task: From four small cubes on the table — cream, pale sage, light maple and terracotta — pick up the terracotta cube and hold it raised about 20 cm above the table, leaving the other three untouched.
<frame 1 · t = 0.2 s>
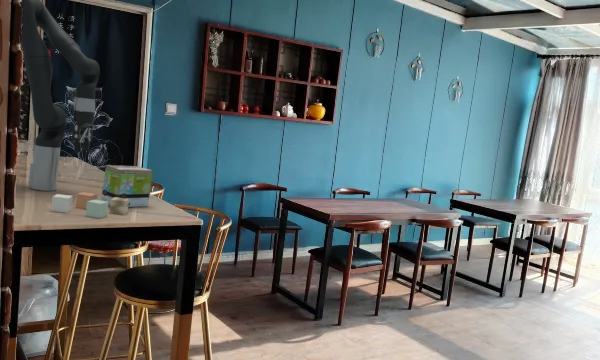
hand: (81, 151, 203), 17 cm above the table, tool pointing down, fingers open, 8 cm apart
maple cube: (118, 212, 185), on the table
sage cube: (96, 216, 175), on the table
terracotta cube: (85, 207, 185), on the table
tea box: (125, 205, 200), on the table
cream cube: (61, 210, 175), on the table
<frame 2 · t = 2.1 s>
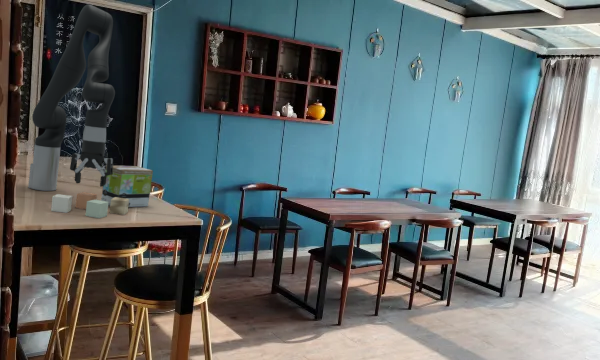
hand: (90, 184, 184), 8 cm above the table, tool pointing down, fingers open, 8 cm apart
nothing on the table moved.
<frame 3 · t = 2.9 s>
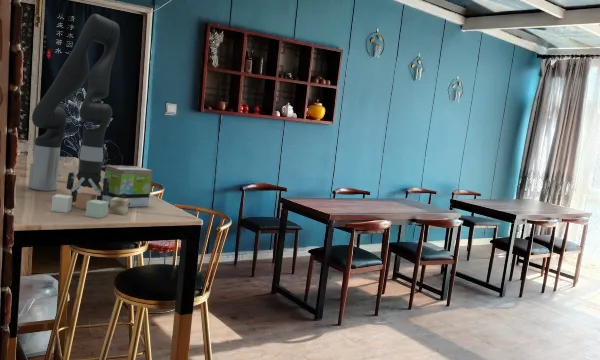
hand: (86, 203, 185), 1 cm above the table, tool pointing down, fingers open, 8 cm apart
nothing on the table moved.
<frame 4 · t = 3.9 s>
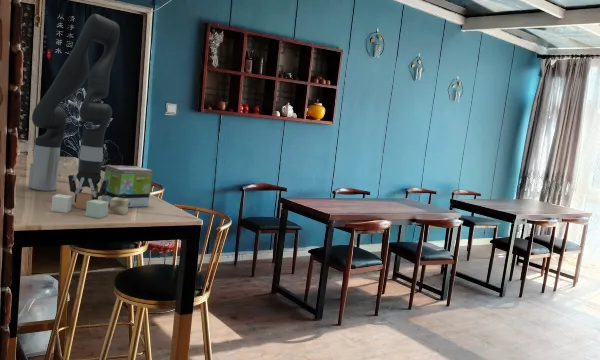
hand: (85, 205, 185), 1 cm above the table, tool pointing down, fingers closed on terracotta cube, 5 cm apart
terracotta cube: (85, 207, 185), on the table, touching gripper
everything else where it was.
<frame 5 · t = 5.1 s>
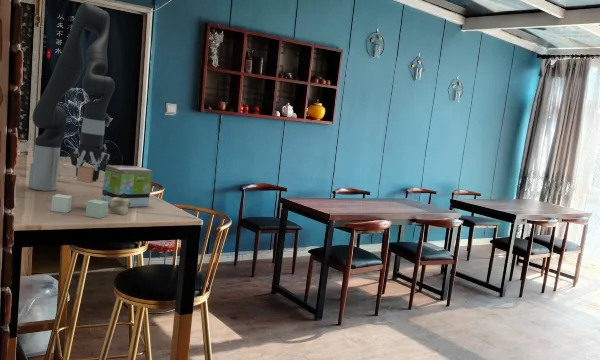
hand: (86, 179, 183), 10 cm above the table, tool pointing down, fingers closed on terracotta cube, 5 cm apart
terracotta cube: (86, 181, 184), point 9 cm above the table, touching gripper
everything else where it was.
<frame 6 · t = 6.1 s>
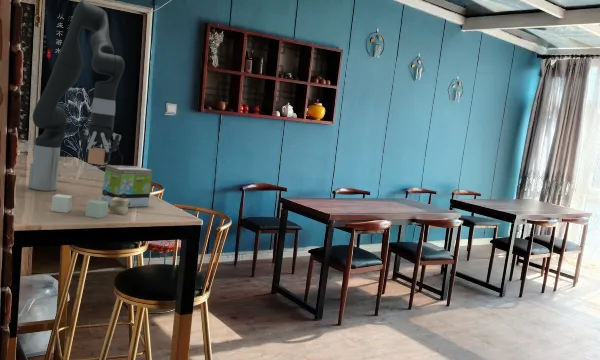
hand: (98, 161, 179), 18 cm above the table, tool pointing down, fingers closed on terracotta cube, 5 cm apart
terracotta cube: (97, 163, 179), point 17 cm above the table, touching gripper
everything else where it was.
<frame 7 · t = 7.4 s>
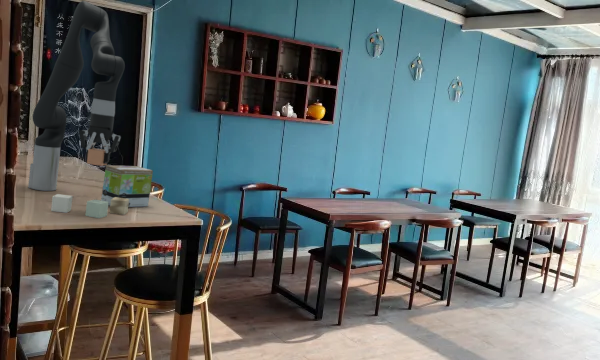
hand: (97, 162, 179), 17 cm above the table, tool pointing down, fingers closed on terracotta cube, 5 cm apart
terracotta cube: (97, 164, 179), point 17 cm above the table, touching gripper
everything else where it was.
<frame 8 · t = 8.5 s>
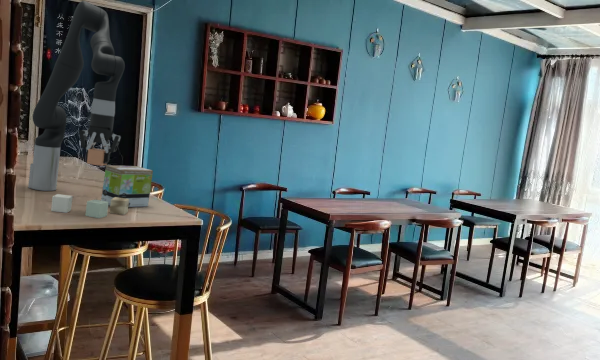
hand: (97, 162, 179), 17 cm above the table, tool pointing down, fingers closed on terracotta cube, 5 cm apart
terracotta cube: (97, 164, 179), point 17 cm above the table, touching gripper
everything else where it was.
at the end: the gripper is holding terracotta cube; terracotta cube point 16.6 cm above the table; cream cube moved 0.1 cm from its start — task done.
